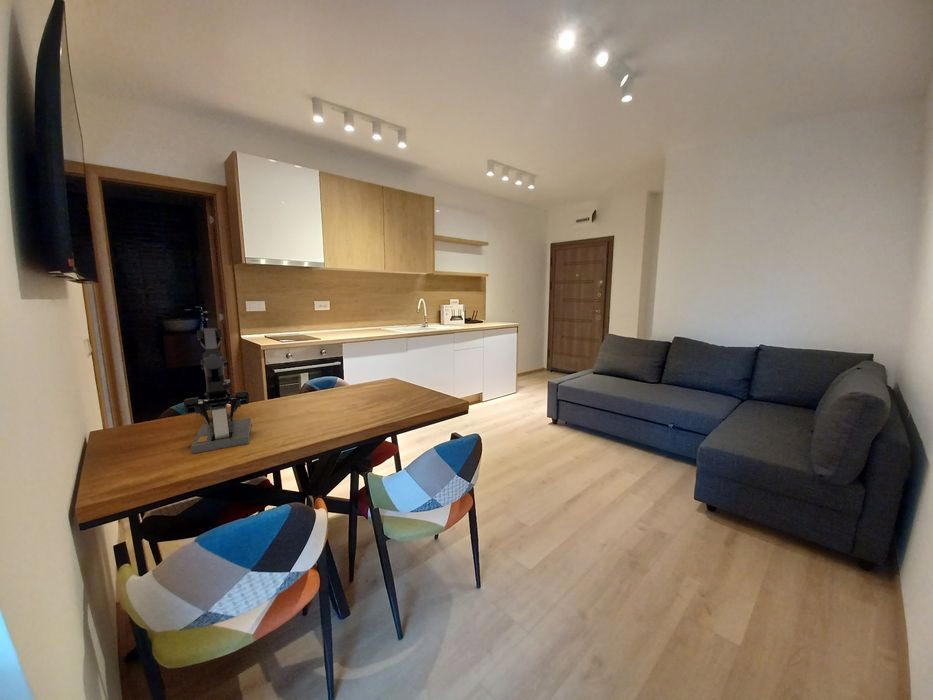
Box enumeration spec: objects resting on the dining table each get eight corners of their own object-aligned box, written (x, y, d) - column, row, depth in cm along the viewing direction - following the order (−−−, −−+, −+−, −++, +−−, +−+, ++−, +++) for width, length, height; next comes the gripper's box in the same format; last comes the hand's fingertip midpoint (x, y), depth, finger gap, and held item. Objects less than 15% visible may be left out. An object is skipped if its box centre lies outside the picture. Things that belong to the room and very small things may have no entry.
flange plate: (202, 431, 137) (202, 424, 136) (251, 423, 144) (250, 417, 144) (192, 453, 118) (190, 445, 117) (248, 443, 125) (247, 436, 125)
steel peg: (215, 442, 126) (211, 407, 124) (229, 439, 129) (225, 405, 126) (216, 446, 123) (211, 410, 121) (230, 443, 125) (226, 408, 123)
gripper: (180, 376, 120) (183, 417, 113) (245, 369, 130) (251, 405, 123) (184, 393, 127) (187, 432, 120) (246, 385, 138) (251, 421, 131)
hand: (220, 422), depth 123 cm, fingers open, 6 cm apart
